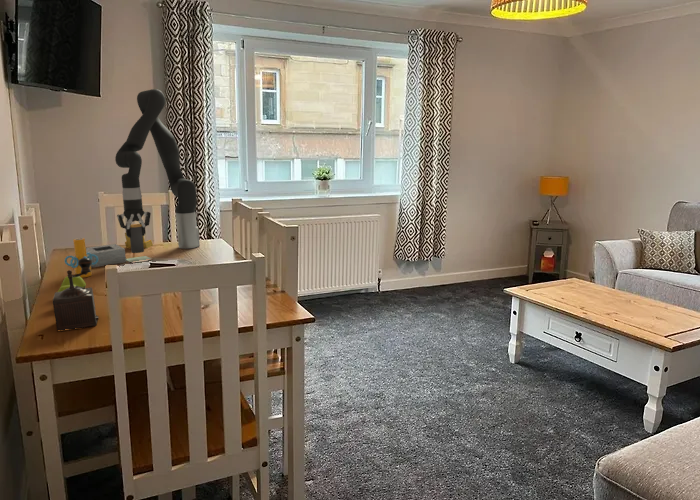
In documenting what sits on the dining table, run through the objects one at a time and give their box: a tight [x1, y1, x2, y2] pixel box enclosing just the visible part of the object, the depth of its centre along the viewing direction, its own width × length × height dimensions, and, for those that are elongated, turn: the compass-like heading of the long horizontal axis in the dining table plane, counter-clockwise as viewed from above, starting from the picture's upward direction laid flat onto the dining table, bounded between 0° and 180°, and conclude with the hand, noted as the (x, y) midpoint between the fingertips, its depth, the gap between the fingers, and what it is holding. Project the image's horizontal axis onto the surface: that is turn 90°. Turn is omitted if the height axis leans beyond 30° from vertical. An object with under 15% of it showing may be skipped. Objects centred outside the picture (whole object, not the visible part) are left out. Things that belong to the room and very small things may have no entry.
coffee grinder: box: [52, 258, 100, 331], centre depth 156 cm, size 16×11×18 cm
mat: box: [126, 255, 152, 263], centre depth 232 cm, size 9×9×1 cm
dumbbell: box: [57, 276, 87, 292], centre depth 177 cm, size 16×8×7 cm, turn 21°
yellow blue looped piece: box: [64, 237, 98, 279], centre depth 206 cm, size 12×10×15 cm
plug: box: [129, 223, 145, 254], centre depth 230 cm, size 5×5×12 cm
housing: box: [86, 243, 127, 269], centre depth 229 cm, size 14×14×6 cm
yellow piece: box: [124, 232, 154, 249], centre depth 258 cm, size 10×10×9 cm
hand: (136, 236), depth 230 cm, fingers closed on plug, 5 cm apart
